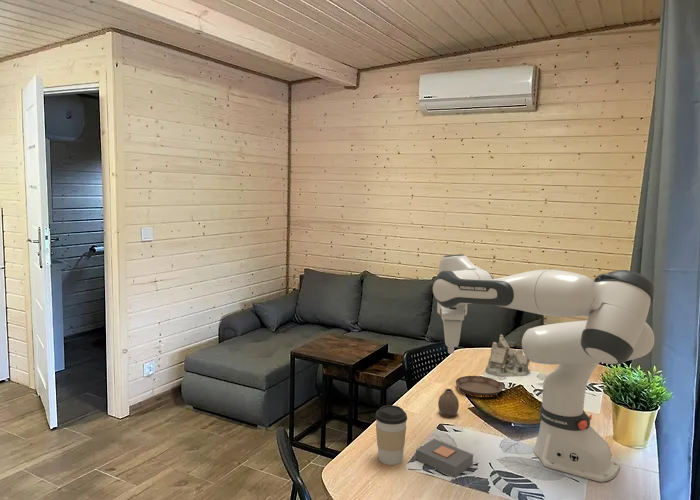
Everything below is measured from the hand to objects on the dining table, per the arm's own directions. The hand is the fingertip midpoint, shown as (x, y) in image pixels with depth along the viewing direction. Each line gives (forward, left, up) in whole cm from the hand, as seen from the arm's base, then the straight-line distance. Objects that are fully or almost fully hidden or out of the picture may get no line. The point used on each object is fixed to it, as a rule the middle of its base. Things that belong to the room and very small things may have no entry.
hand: (450, 352), depth 156 cm
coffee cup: (+5, +22, -28) cm, 36 cm away
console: (-7, +13, -28) cm, 31 cm away
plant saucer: (+12, -40, -28) cm, 51 cm away
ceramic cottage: (+14, -67, -28) cm, 74 cm away
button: (-7, +12, -28) cm, 31 cm away
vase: (+9, -14, -28) cm, 33 cm away
